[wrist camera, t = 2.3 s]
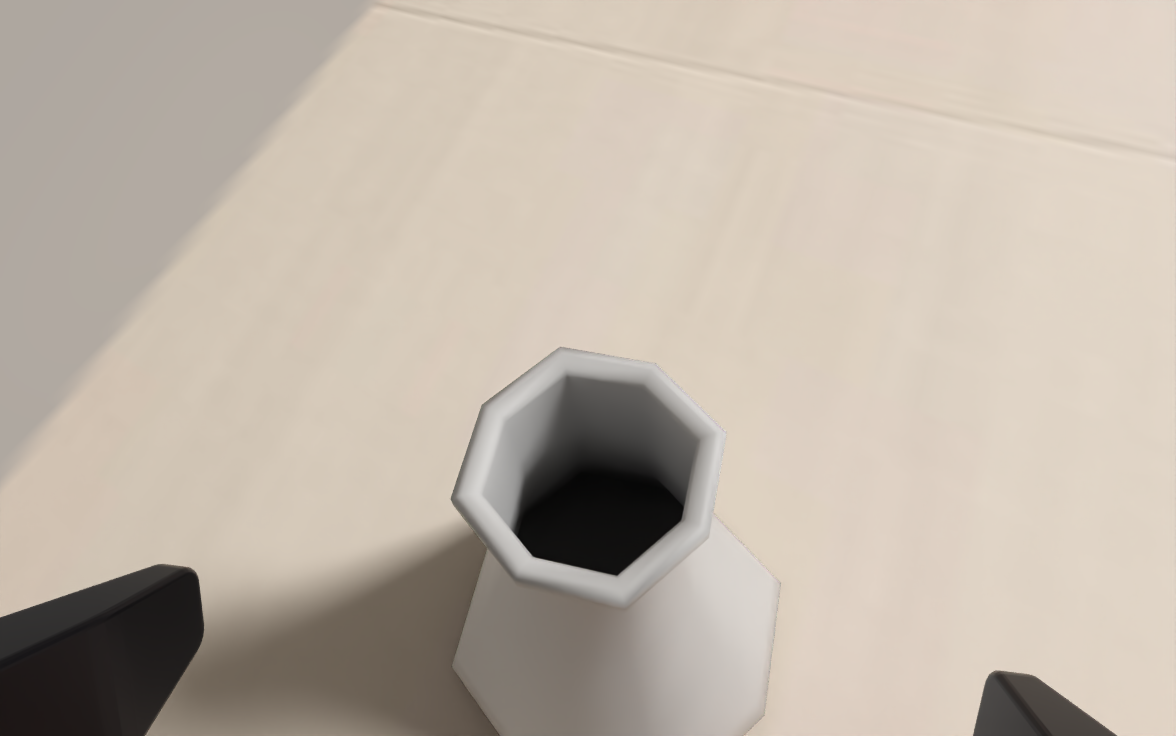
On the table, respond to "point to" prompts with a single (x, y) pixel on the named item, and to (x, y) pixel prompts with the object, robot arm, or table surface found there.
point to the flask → (608, 561)
